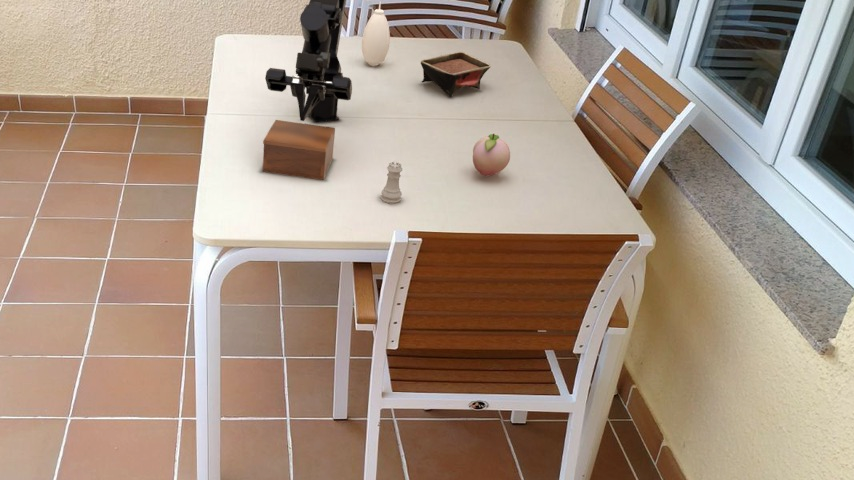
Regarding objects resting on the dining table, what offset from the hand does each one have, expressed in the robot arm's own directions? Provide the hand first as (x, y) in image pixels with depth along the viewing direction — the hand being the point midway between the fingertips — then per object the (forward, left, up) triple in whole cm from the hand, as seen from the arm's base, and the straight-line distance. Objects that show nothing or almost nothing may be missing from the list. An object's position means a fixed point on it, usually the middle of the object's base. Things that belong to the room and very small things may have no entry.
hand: (302, 120), depth 211 cm
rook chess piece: (-12, +22, -10) cm, 27 cm away
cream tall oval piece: (-48, -59, -10) cm, 77 cm away
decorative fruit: (-39, +17, -10) cm, 44 cm away
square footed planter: (-61, -37, -10) cm, 72 cm away
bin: (+1, +1, -10) cm, 10 cm away
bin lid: (+1, +1, -3) cm, 4 cm away
